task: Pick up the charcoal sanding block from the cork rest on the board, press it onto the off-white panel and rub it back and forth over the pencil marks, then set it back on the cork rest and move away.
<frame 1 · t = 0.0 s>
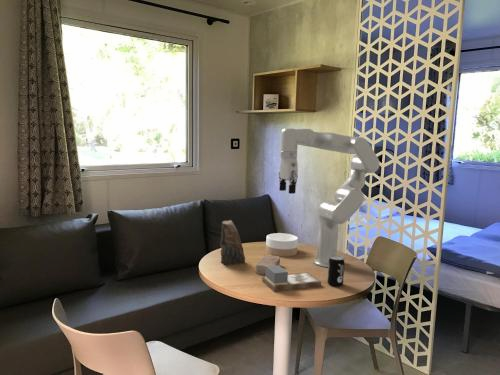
hand: (287, 191, 184), 37 cm above the table, tool pointing down, fingers open, 9 cm apart
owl: (232, 262, 195), on the table
sanding block: (276, 280, 165), point 2 cm above the table, touching board
bowl: (281, 252, 216), on the table
board: (291, 283, 168), on the table
beverage can: (335, 284, 169), on the table
brick: (268, 270, 186), on the table
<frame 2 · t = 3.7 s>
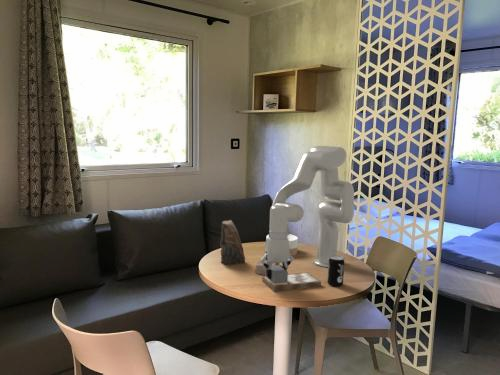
hand: (276, 276, 165), 4 cm above the table, tool pointing down, fingers closed on sanding block, 6 cm apart
sanding block: (276, 280, 165), point 2 cm above the table, touching board, gripper
everything else where it was.
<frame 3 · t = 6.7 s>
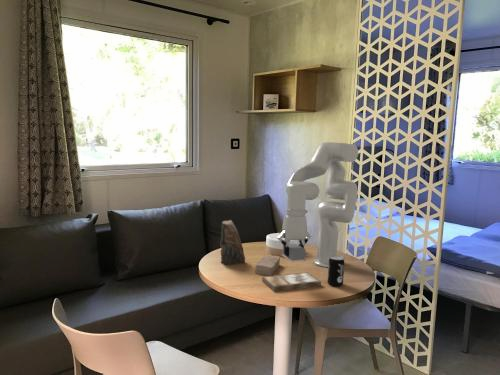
hand: (293, 254, 166), 13 cm above the table, tool pointing down, fingers closed on sanding block, 6 cm apart
sanding block: (293, 258, 166), point 11 cm above the table, touching gripper
everything else where it was.
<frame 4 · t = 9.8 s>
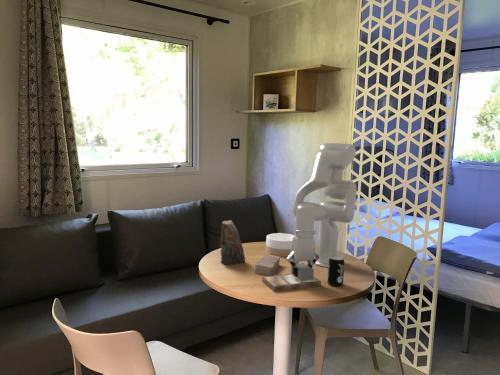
hand: (302, 274, 169), 4 cm above the table, tool pointing down, fingers closed on sanding block, 6 cm apart
sanding block: (301, 278, 169), point 2 cm above the table, touching gripper
everything else where it was.
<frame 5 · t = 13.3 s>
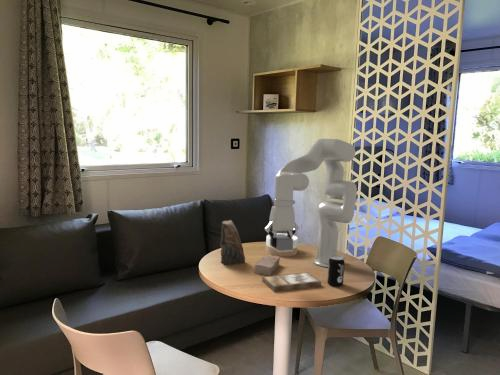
hand: (281, 245, 163), 17 cm above the table, tool pointing down, fingers closed on sanding block, 6 cm apart
sanding block: (281, 248, 164), point 16 cm above the table, touching gripper
everything else where it was.
when the fingers open (5 cm above the table, at t = 16.1 s): sanding block drops 1 cm, resting on board.
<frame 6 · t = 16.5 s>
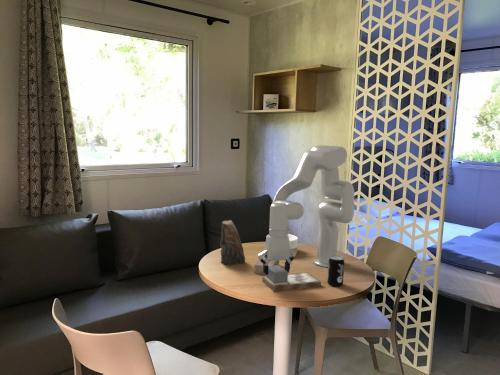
hand: (276, 272, 165), 5 cm above the table, tool pointing down, fingers open, 9 cm apart
sanding block: (276, 280, 165), point 2 cm above the table, touching board
everything else where it was.
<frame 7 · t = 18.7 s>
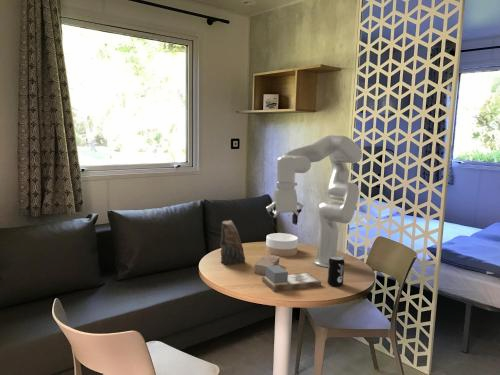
hand: (284, 225, 169), 24 cm above the table, tool pointing down, fingers open, 9 cm apart
nothing on the table moved.
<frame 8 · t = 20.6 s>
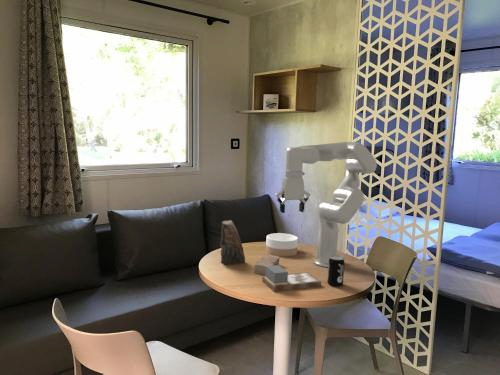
hand: (291, 212, 179), 28 cm above the table, tool pointing down, fingers open, 9 cm apart
nothing on the table moved.
at the end: sanding block 0.0 cm from the target spot on the board, point 2.1 cm above the board's base; the gripper is holding nothing; sanding block tilted 0° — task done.
